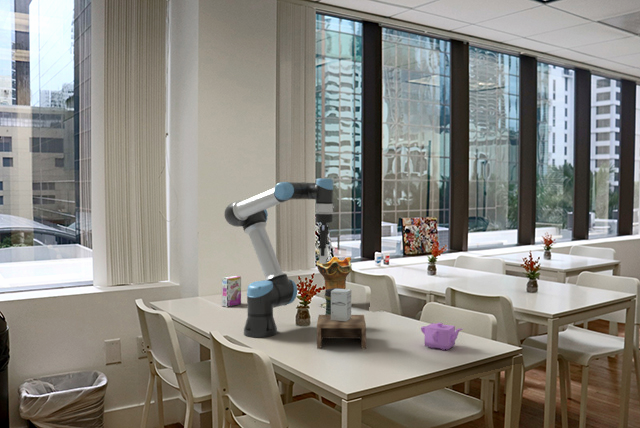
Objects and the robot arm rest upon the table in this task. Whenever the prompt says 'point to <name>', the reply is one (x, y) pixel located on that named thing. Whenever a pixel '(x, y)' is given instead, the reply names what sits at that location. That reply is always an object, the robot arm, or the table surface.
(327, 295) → the coffee jar
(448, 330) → the teapot
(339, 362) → the table surface
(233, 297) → the candy bar box
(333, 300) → the supplement box
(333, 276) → the decorative vase
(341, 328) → the walnut shelf
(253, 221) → the robot arm
